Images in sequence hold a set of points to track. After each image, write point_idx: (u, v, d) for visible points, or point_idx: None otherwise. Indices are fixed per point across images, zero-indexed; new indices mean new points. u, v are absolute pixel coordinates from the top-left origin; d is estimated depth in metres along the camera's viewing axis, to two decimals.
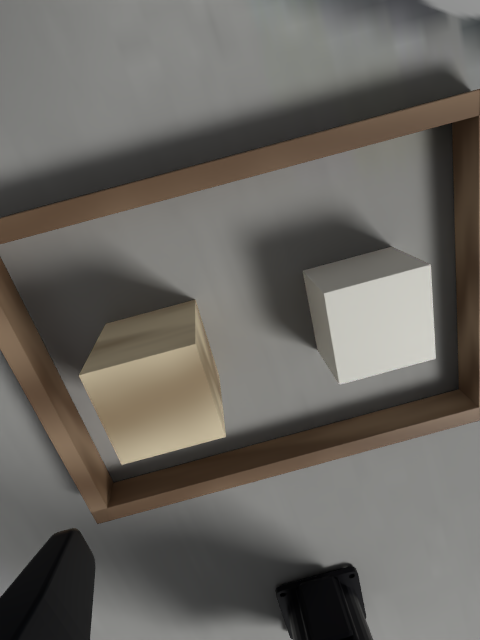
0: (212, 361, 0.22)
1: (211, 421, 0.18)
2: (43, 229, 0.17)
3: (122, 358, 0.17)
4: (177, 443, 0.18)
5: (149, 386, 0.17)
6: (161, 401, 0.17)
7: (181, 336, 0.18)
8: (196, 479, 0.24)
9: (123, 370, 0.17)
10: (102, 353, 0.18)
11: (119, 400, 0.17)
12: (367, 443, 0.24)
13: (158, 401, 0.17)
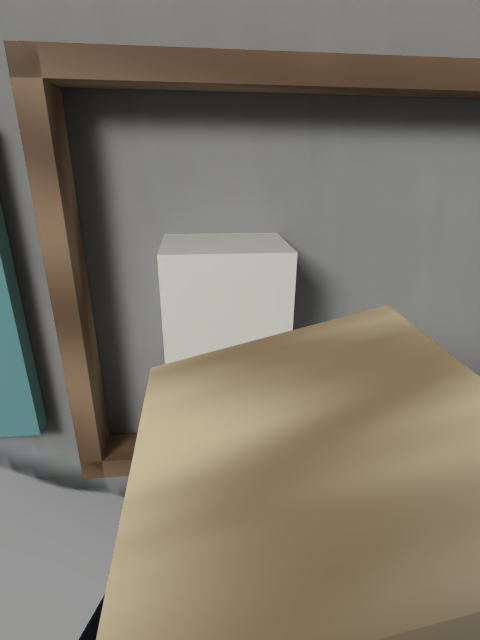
0: (326, 349, 0.07)
1: None
2: None
3: None
4: None
5: None
6: None
7: None
8: None
9: None
10: None
11: None
12: (253, 69, 0.14)
13: None
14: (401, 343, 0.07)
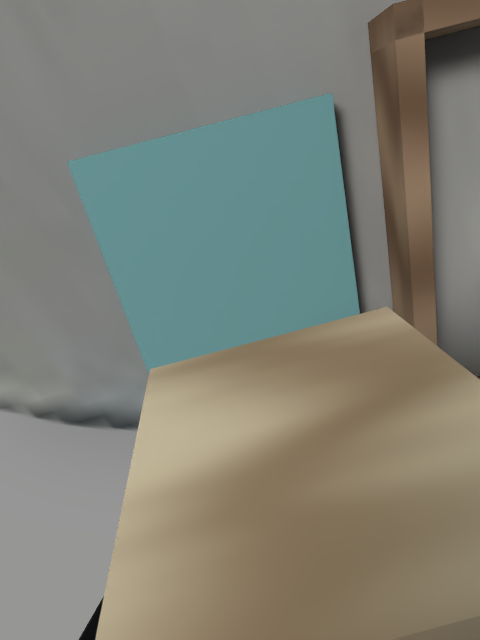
0: (326, 351, 0.07)
1: None
2: None
3: None
4: None
5: None
6: None
7: None
8: None
9: None
10: None
11: None
12: None
13: None
14: (401, 345, 0.07)
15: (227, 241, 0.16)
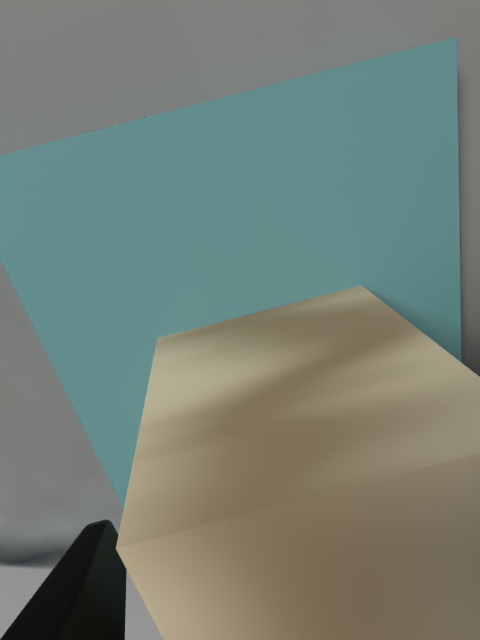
0: (306, 319, 0.08)
1: (462, 483, 0.05)
2: None
3: None
4: None
5: None
6: (338, 616, 0.05)
7: None
8: None
9: None
10: None
11: None
12: None
13: (338, 622, 0.05)
14: (368, 313, 0.08)
15: (253, 303, 0.09)
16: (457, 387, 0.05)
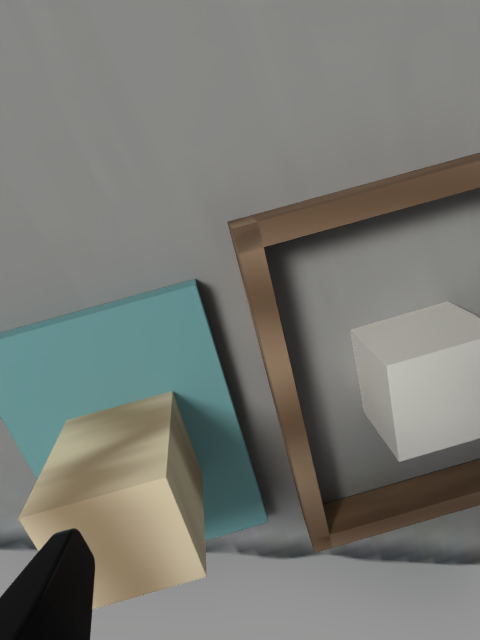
0: (134, 414, 0.17)
1: (139, 494, 0.13)
2: None
3: None
4: (175, 527, 0.14)
5: None
6: (108, 545, 0.14)
7: None
8: None
9: None
10: None
11: (109, 582, 0.15)
12: (435, 187, 0.15)
13: (109, 548, 0.14)
14: (160, 412, 0.17)
15: (115, 402, 0.18)
16: (157, 457, 0.14)
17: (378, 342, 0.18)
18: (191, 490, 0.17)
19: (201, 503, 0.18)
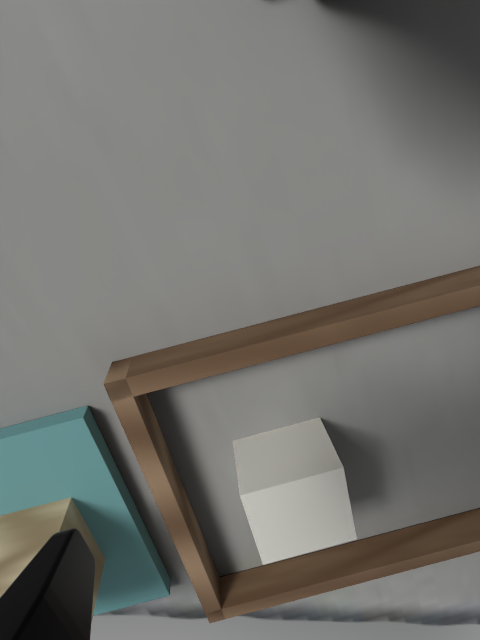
0: (33, 522, 0.20)
1: None
2: None
3: None
4: None
5: None
6: None
7: None
8: None
9: None
10: None
11: None
12: (280, 348, 0.18)
13: None
14: (53, 524, 0.20)
15: (21, 506, 0.21)
16: None
17: (246, 463, 0.20)
18: None
19: (93, 595, 0.21)
